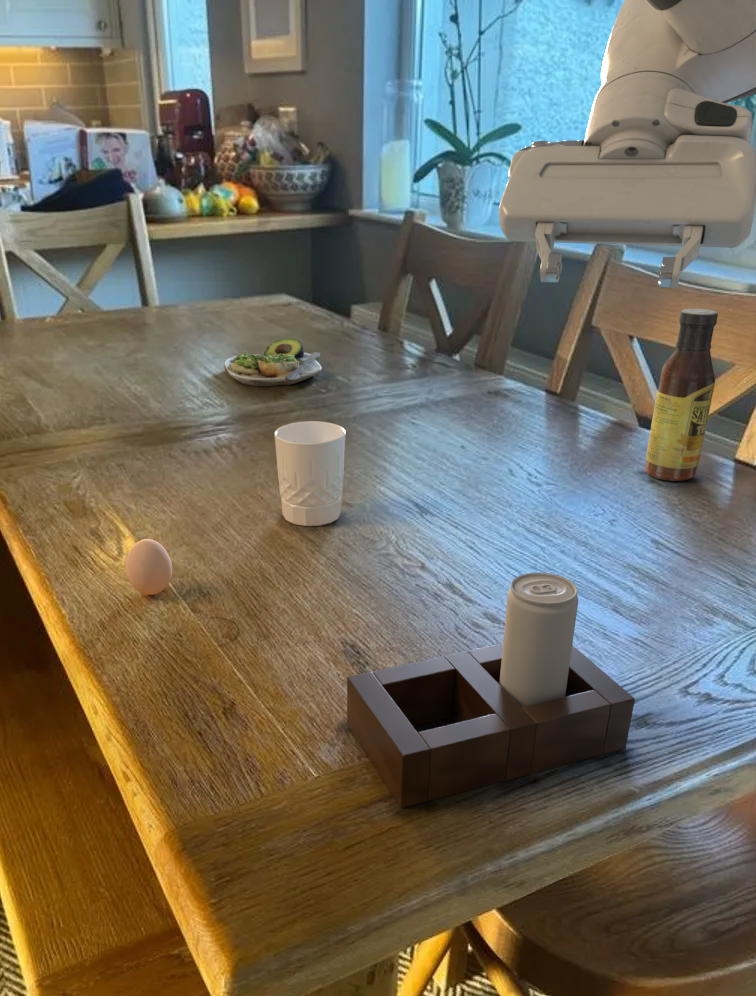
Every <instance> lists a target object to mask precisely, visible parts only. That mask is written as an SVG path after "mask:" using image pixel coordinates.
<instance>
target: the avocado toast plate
mask: <svg viewBox="0 0 756 996" xmlns="http://www.w3.org/2000/svg"><path fill="white" fill-rule="evenodd" d="M320 357H321V353H320V352H314V351H313V352H312V353H308V352H305V348H304V344H303V343H302V342H301V341H300V340H299V339H297V338H282V339H279V340H275V341H273V342H271V343H270V344H269V345H268V346H266V349H265V351H263V353H262V354H261V353H260V354H259V353H256V354H251V353H247V352H243V353H242V354H241V353H240V354H238V355H235V356H231V357H229V358H227V359H226V360H224V364H223V366H224V367H223V368H224V370H225V371H226V372H227V374H228V375H229V376H230V377H231V378H233V379H234V380H236V381H237V382H239V383H241V384H242V385H246V386H253V387H274V386H287V385H288V386H289V385H294V384H297V383H299V382H303V381H306V380H307V379H310V378H312V377H314V376H316V375H318V374H320V373H321V371H322V369H323V367H322V365H321V364H320V363H319V362H318V359H320Z"/></svg>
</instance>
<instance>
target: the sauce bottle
mask: <svg viewBox="0 0 756 996" xmlns="http://www.w3.org/2000/svg"><path fill="white" fill-rule="evenodd" d="M718 314H719V313H718V311H716V310H712V309H707V308H685V309H682V310H681V311H680V315H679V323H678V324H679V329H678V335H677V341H676V343H675V350H674V351H673V353H672V354H671V355H670V357H668V358H667V359H666V361H665V362H664V364H663V366H662V370H661V372H660V379H659V384H658V388H657V390H656V396H655V402H654V408H653V413H652V418H651V419H652V420H651V424H650V430H649V436H648V441H647V449H646V454H645V459H646V460H645V466H644V470H645V473H646V474H647V475H648V476H650V477H652V478H654V479H657V480H661V481H662V480H663V481H668V482H683V481H688V480H691V479H692V478H694V477H695V476H696V472H697V469H698V467H699V465H700V459H701V456H702V449H703V445H704V440H705V436H706V430H707V425H708V420H709V416H710V411H711V410H710V409H711V405H712V399H713V395H714V391H715V390H714V389H715V385H716V377H715V373H714V372H715V371H714V366H713V361H712V353H711V349H712V339H713V334H714V329H715V326H716V325H717V323H718V317H719V316H718Z"/></svg>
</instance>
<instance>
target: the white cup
mask: <svg viewBox="0 0 756 996" xmlns="http://www.w3.org/2000/svg"><path fill="white" fill-rule="evenodd" d="M273 434H274V435H273V436H274V445H275V457H276V467H277V479H278V486H279V488H278V489H279V494H280V499H281V514H282V516H283V518H284V519H285V521H286V522H289V523H291V524H293V525H298V526H304V527H318V526H324V525H328V524H332V523H333V522H335V521H337V520H339V518H340V516H341V514H342V495H343V489H344V478H345V477H344V476H345V475H344V474H345V452H346V430H345V428H344V427H342V426H341V425H338V424H337V423H333V422H328V421H317V420H315V421H314V420H308V421H296V422H292V423H287V424H283V425H282V426H280V427H278V428H276V429H275V431H274V433H273Z"/></svg>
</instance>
